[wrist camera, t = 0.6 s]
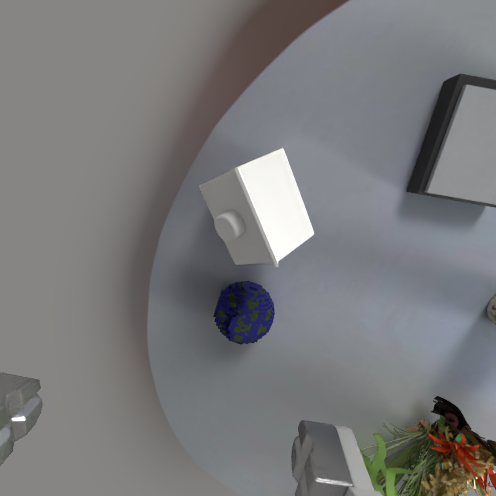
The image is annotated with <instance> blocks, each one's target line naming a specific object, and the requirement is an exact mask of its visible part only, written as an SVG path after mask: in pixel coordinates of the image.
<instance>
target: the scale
mask: <svg viewBox="0 0 496 496" xmlns="http://www.w3.org/2000/svg"><path fill="white" fill-rule="evenodd" d="M407 192H410V193H416V194H422V195H427V196H433V197H439V198H444V199H450V200H456V201H461V202H467V203H473V204H478V205H484V206H490V207H496V80H492V79H486V78H481V77H476V76H470V75H465V74H459V75H456V76H454V77H452V78H450V79H448V80H446V81H444V84H443V87H442V90H441V93H440V96H439V99H438V101H437V104H436V107H435V110H434V113H433V116H432V119H431V122H430V125H429V128H428V131H427V134H426V136H425V139H424V142H423V145H422V148H421V151H420V154H419V157H418V160H417V163H416V166H415V169H414V172H413V174H412V177H411V180H410V183H409V186H408V189H407Z"/></svg>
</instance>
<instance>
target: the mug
mask: <svg viewBox="0 0 496 496" xmlns="http://www.w3.org/2000/svg"><path fill="white" fill-rule="evenodd" d="M487 314H488V317H489V319H490V320H491V321H492V322H493V323H495V324H496V295H495V296H494V297H493V298H492V299H491V301H490V302H489V304H488V307H487Z"/></svg>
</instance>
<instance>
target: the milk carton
mask: <svg viewBox="0 0 496 496" xmlns="http://www.w3.org/2000/svg"><path fill="white" fill-rule="evenodd" d="M199 188H200V191H201V193H202V195H203V197H204V200H205V202H206V204H207V206H208V208H209V210H210V213H211V215H212V217H213V219H214V225H215V229H216V231H217V233H218V235H219V236H220V237H221V239H223V240H224V242H225V245H226V247H227V249H228V251H229V253H230V255H231V257H232V259H233V261H234V263H235V264H236V265H246V264H263V263H274V264H275V266H276V268H277V267H279V265H278V261H279V260H281V259H282V258H283V257H285V256H286V255H287V254H289V253H290V252H291V251H293V250H294V249H295V248H297V247H298V246H299V245H301V244H302V243H303V242H304V241H306V240H307V239H308V238H310V237H311V236H312V235H314V232H313V228H312V226H311V223H310V220H309V217H308V214H307V212H306V209H305V206H304V203H303V201H302V198H301V195H300V192H299V190H298V187H297V184H296V181H295V179H294V176H293V173H292V171H291V168H290V165H289V162H288V160H287V157H286V154H285V152H284V149H283V148H282V149H279V150H277V151H274V152H272V153H270V154H267V155H265V156H263V157H260V158H258V159H255V160H253V161H251V162H248V163H246V164H243V165H241V166H239V167H235V168H234V169H232V170H230V171H228V172H226V173H224V174H222V175H220V176H218V177H216V178H214V179H212V180H210V181H208V182H206V183H203V184H201V185H199Z"/></svg>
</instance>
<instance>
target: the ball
mask: <svg viewBox="0 0 496 496" xmlns="http://www.w3.org/2000/svg"><path fill="white" fill-rule="evenodd" d="M274 314H275V313H274V304H273V302H272V299H271V298H270V296H269V293H268V292H266V291H265V289H263V288H262V286H261V285H258V284H255V283H252V282H249V281H247V282H246V281H244V282H243V281H242V282H235V284H232V285H229V287H227V286H226V288H225V291H224V290H222V292H221V295H220V297H219V300H218V303H217V306H216V309H215V313H214V316H213V317H215V321H214V322H217V323H216V326H218V329H220V332H222V334H223V335H224V336H226V338H228V339H229V341H232V342H235V343H238V344H243V343H246V344H248V343H250V342H251V343H254V342H257V341H258V339H261V338H262V336H264V335H266V333H267V332H269V329H270V327H271V325H272V323H273V318H274Z"/></svg>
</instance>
